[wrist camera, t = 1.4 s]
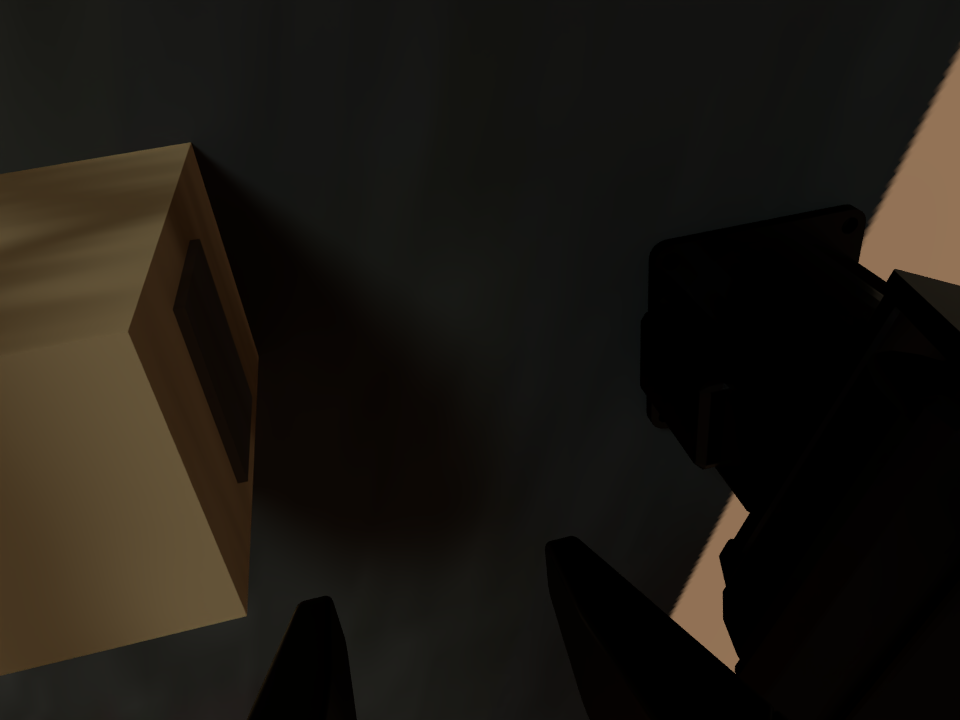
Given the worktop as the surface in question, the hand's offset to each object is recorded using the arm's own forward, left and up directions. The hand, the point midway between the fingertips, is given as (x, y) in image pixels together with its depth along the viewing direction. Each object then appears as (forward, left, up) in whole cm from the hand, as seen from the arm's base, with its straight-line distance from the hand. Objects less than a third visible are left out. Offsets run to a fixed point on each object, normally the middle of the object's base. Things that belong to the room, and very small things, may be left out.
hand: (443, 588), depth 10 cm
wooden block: (+6, 0, -12) cm, 14 cm away
